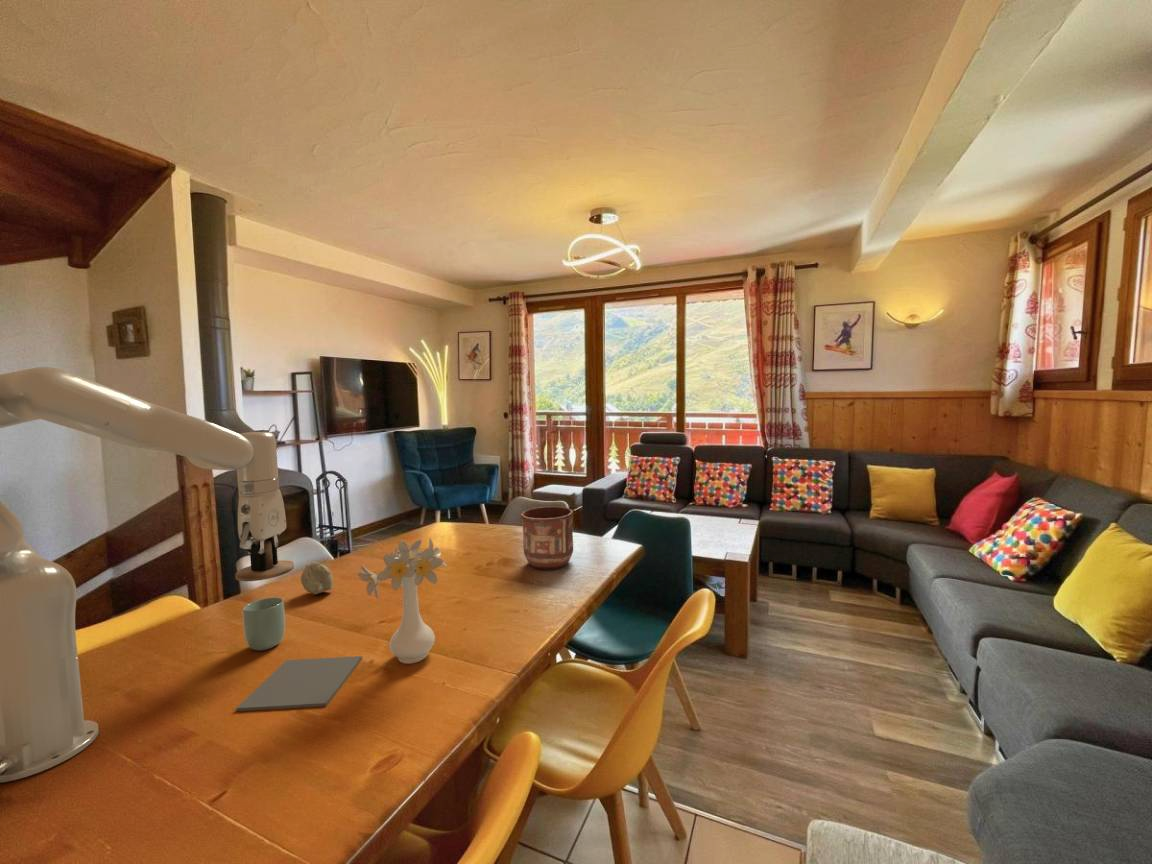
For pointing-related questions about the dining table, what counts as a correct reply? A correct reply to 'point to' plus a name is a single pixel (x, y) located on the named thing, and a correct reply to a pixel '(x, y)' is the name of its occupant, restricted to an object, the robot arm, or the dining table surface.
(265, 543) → the lid
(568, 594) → the dining table surface
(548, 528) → the pottery
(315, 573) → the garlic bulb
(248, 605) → the cup
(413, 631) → the flower vase
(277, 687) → the mat
